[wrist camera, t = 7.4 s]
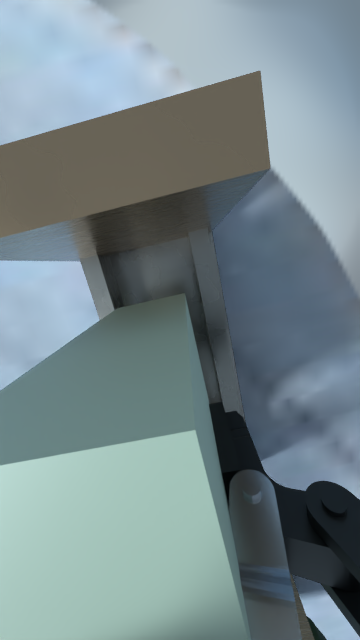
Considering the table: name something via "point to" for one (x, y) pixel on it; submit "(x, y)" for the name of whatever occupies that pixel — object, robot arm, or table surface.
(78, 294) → the table surface
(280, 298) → the table surface
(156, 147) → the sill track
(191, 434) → the pale green rectangular block
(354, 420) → the table surface
